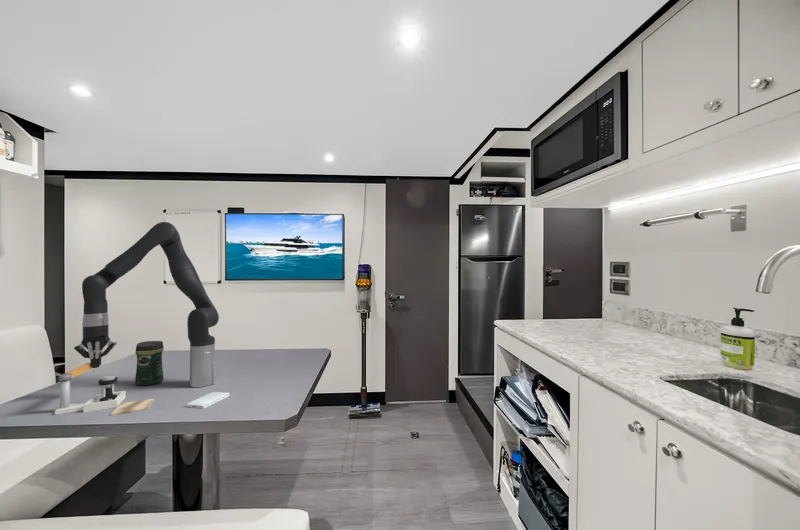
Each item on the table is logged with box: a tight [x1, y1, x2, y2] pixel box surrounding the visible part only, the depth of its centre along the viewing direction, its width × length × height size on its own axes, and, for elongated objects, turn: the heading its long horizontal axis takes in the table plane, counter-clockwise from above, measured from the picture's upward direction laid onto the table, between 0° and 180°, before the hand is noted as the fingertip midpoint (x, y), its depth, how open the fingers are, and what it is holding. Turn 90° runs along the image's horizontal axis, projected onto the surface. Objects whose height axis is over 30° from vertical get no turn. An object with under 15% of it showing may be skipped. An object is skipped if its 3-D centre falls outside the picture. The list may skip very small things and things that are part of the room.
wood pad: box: [110, 398, 155, 416], centre depth 114 cm, size 10×10×1 cm
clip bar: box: [58, 362, 93, 382], centre depth 120 cm, size 18×3×2 cm, turn 23°
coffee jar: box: [134, 340, 165, 386], centre depth 141 cm, size 10×8×19 cm
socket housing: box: [54, 380, 127, 415], centre depth 116 cm, size 17×11×10 cm, turn 118°
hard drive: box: [184, 391, 230, 409], centre depth 119 cm, size 2×8×12 cm
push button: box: [98, 374, 118, 402], centre depth 118 cm, size 7×5×10 cm
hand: (95, 367), depth 127 cm, fingers closed
